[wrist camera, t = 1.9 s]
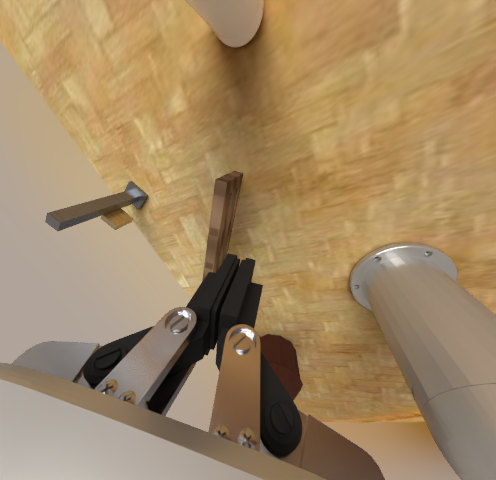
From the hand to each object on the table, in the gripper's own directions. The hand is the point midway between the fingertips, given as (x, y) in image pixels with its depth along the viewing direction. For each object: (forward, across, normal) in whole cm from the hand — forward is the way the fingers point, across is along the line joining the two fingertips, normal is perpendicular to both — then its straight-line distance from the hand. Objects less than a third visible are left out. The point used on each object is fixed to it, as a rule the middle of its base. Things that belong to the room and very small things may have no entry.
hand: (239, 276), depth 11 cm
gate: (+15, +5, +5) cm, 17 cm away
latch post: (+17, +22, +4) cm, 28 cm away
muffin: (+17, -8, +33) cm, 38 cm away
